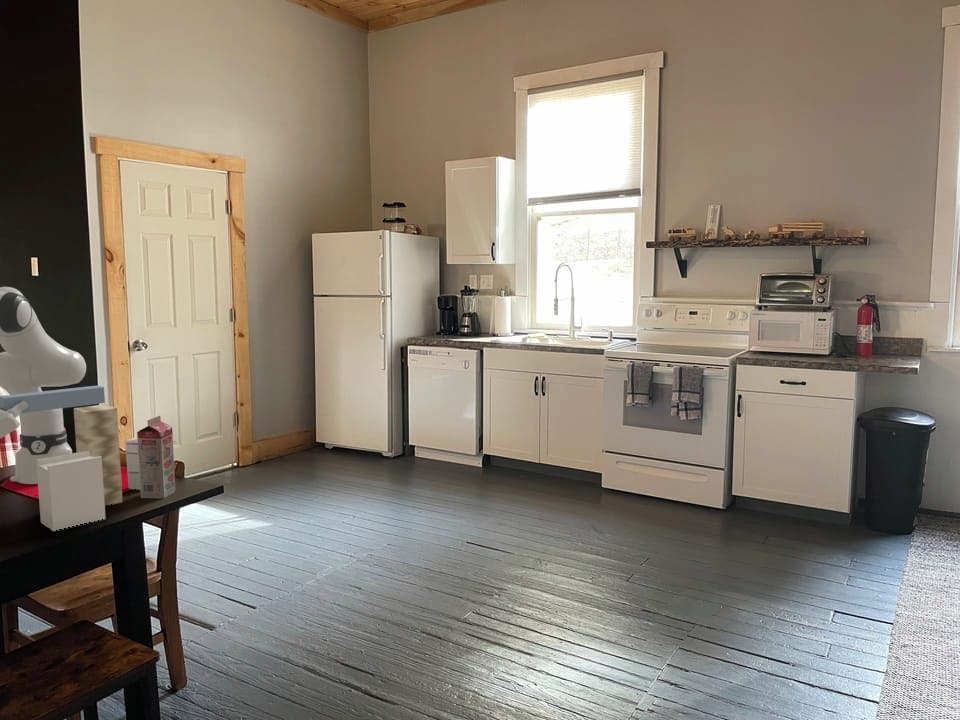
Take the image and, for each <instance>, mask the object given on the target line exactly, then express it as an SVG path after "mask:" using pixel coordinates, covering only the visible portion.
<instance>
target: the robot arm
mask: <svg viewBox="0 0 960 720" xmlns="http://www.w3.org/2000/svg"><path fill="white" fill-rule="evenodd" d="M0 345H1V347H2V348H3V349H4V351H2V352H0V388H2V389H3V390H5V392H7V394H8V395H14V394H23V393H33V392H42V391H43V390H42V388H43V387H44V388H45V387H47V388H50V387H64V386H71V385H75V384H79V383H80V382H81V381H82V380H83V379H84V377H85V375H86V372H87V364H86V360H85V358H84V356H83V355H81V354H80V352H77V351H76V350H72V349H71V348H70V349H69V348H68V347H66V346H63V345H61V344H60V343H59V342H57V341H55V339H53V338H52V337H51V336H49V335H48V334H47V333H46V331H45V329H44V328H43V326H42V324H41V322H40V321H39V318H38V316H37V314H36V312H35V310H34V309H33V307H32V305H31V302H30V301H29V300H28V299H27V298H26V296H24V295H23V293H22V292H21V291H20V290H18V289H17V288H16V287H15V288H14V287H11V286H1V287H0ZM28 406H29V405H28V404H27V402H26V401H23V400H21V401H20V402H18V403H17V404H16V405H15V406H14V407H13V408H11V409H8V410H7V411H4V410H2V409H0V439H3V438H4V437H6V436H7V435H9V434H11V433H12V432H14V431H15V430H17V429H18V428H19V427H20V434H19V440H18V441H19V446H20V448H19V449H18V450H17V452H16V453H15V458H14V459H15V461H14V462H15V463H14V464H15V465H14V466H15V474H14V475H12V476H10V478H9V480H10V482H16V483H19V484H22V485H23V484H24V485H38V478H37V464H36V459H42V458H48V457H54V456H60V455H66V454H72V453H73V449H72V448H71V446H70V445H69V443H68V442H67V441H68V438H67V436H68V435H67V431H66V430H67V429H66V427H65V426H64V414H63V413H64V412H63V410H64V408H60V409H52V410H44V411H35V412H27V413H21V412H22V411H23V410H24V409H26V408H27V407H28ZM17 417H18V419H19V421H18V419H17Z"/></svg>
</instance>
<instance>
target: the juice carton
mask: <svg viewBox="0 0 960 720" xmlns="http://www.w3.org/2000/svg"><path fill="white" fill-rule="evenodd" d="M161 419H162V418H161V415H158V416H154V417H153V418H150V419H148V420H147V426H144V427H143V428H142V429H139V430H138V431H137V432H136V435H137V436H136V437H137V439H138V456H139V474H140V490H139V491H140V499H165V497H166V498H167V497H169V496H170V495H172V494H173V493H175V492H176V481H175V479H176V478H175V477H176V476H175V456H174V434H173V426H171V425H170V424H167V423H166V422H163V421H162V420H161ZM163 491H164V493H163ZM168 495H169V496H168Z"/></svg>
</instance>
